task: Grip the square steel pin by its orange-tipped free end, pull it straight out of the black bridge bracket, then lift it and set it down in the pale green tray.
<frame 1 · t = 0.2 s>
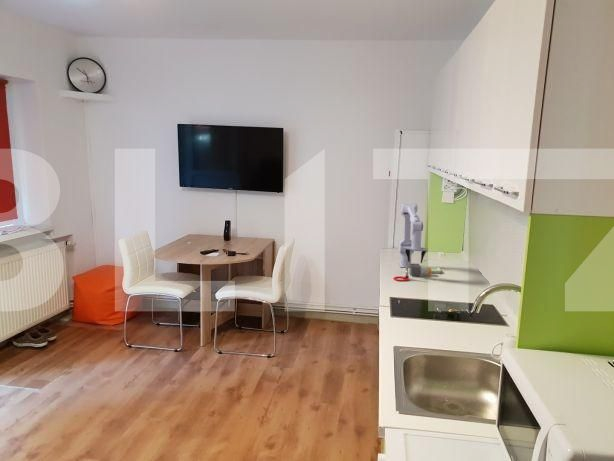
hand: (415, 262, 271), 10 cm above the counter, tool pointing down, fingers open, 7 cm apart
tray: (426, 271, 287), on the counter
tow hook: (400, 279, 268), on the counter
pin: (419, 275, 278), on the counter
bracket: (415, 274, 279), on the counter
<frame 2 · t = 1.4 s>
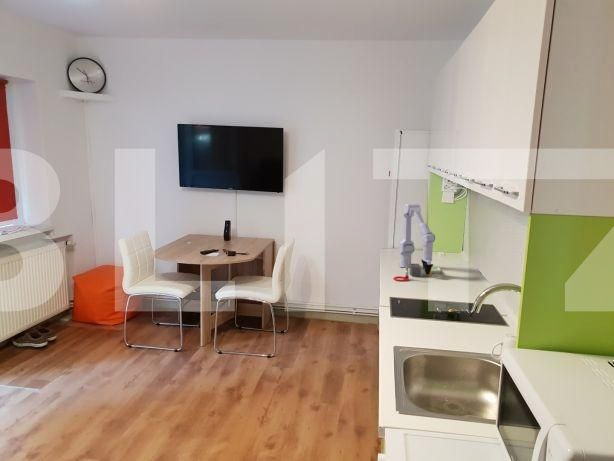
hand: (426, 272, 278), 2 cm above the counter, tool pointing down, fingers open, 7 cm apart
nothing on the counter moved.
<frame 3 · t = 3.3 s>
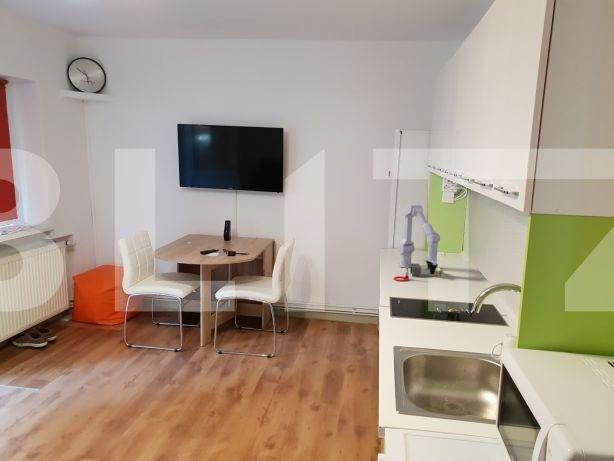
hand: (431, 273, 277), 1 cm above the counter, tool pointing down, fingers closed on pin, 4 cm apart
pin: (424, 275, 278), on the counter, touching gripper
everything else where it was.
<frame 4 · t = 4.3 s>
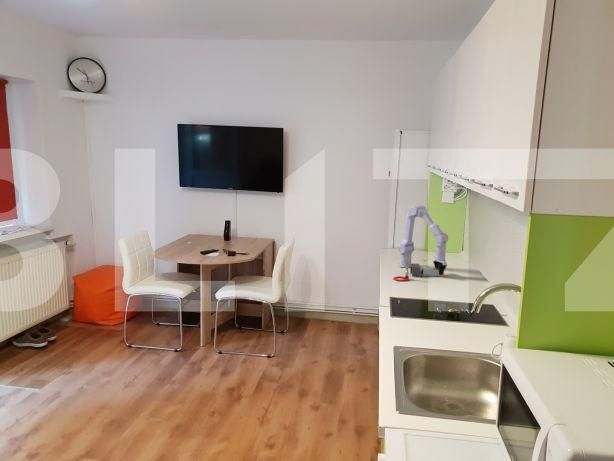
hand: (439, 273, 277), 1 cm above the counter, tool pointing down, fingers closed on pin, 5 cm apart
pin: (432, 275, 277), on the counter, touching gripper
everything else where it was.
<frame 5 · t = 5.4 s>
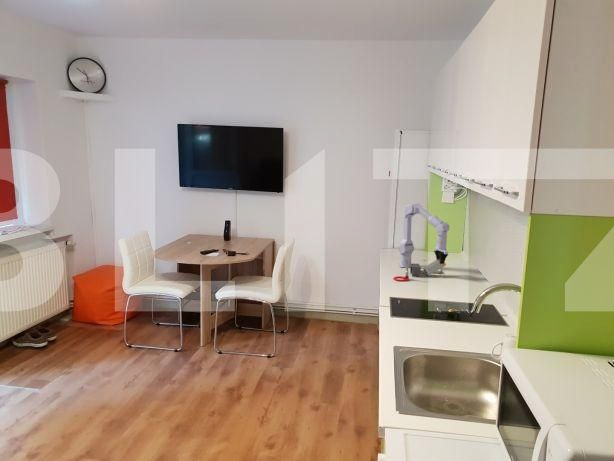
hand: (440, 262, 276), 8 cm above the counter, tool pointing down, fingers closed on pin, 4 cm apart
pin: (436, 269, 276), point 4 cm above the counter, tilted 31°, touching gripper
everything else where it was.
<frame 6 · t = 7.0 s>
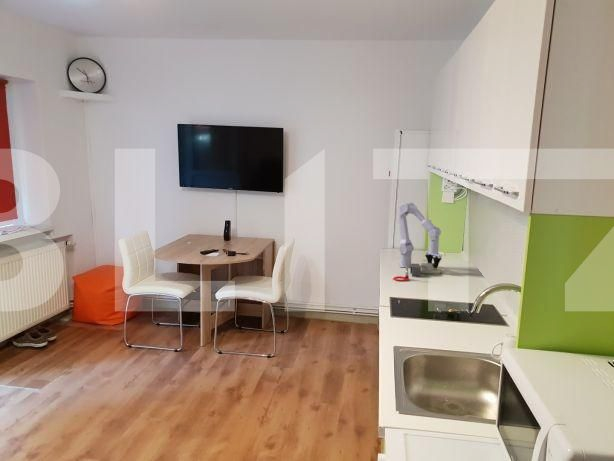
hand: (432, 266, 286), 3 cm above the counter, tool pointing down, fingers closed on pin, 6 cm apart
pin: (429, 270, 282), point 2 cm above the counter, tilted 13°, touching gripper, tray
everything else where it was.
when the fingers open (3 cm above the counter, at t = 7.6 s): pin stays where it is, resting on tray.
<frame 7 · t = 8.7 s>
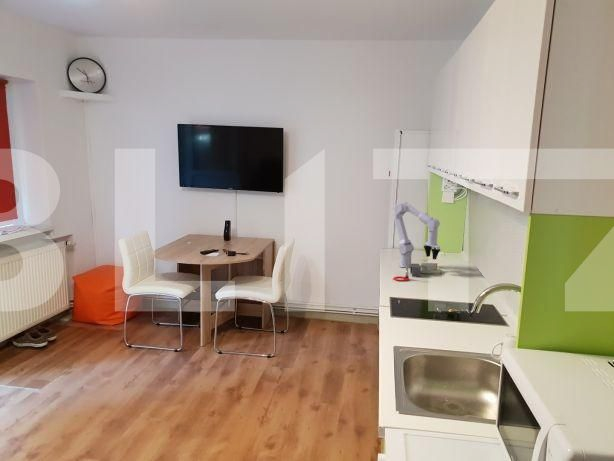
hand: (431, 257, 285), 9 cm above the counter, tool pointing down, fingers open, 7 cm apart
pin: (429, 270, 282), point 2 cm above the counter, tilted 13°, touching tray
everything else where it was.
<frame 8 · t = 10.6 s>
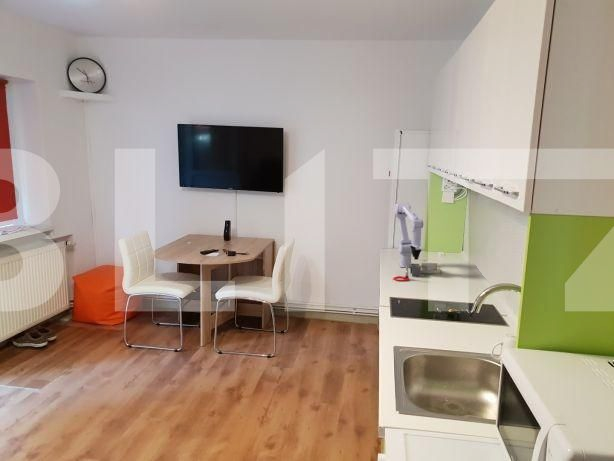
hand: (415, 258, 283), 9 cm above the counter, tool pointing down, fingers open, 7 cm apart
nothing on the counter moved.
at the end: pin inside the target area on the tray (4.4 cm from its centre), point 2.0 cm above the tray's base; the gripper is holding nothing; pin moved 8.5 cm from its start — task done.
